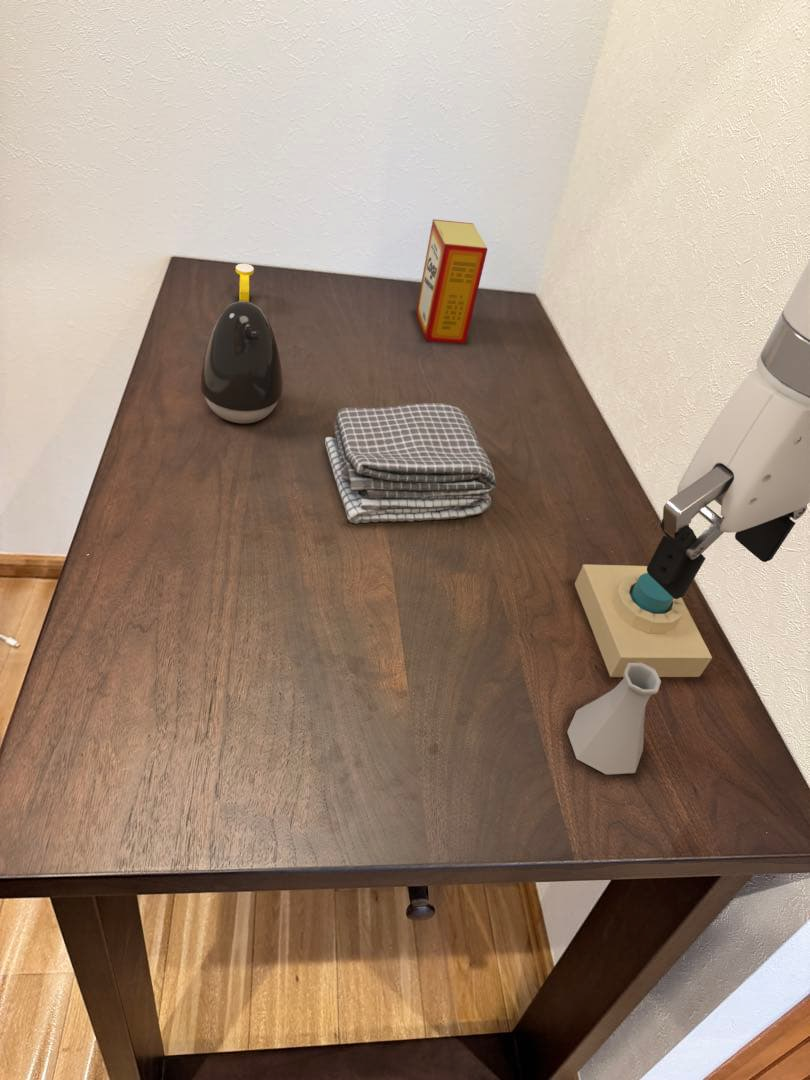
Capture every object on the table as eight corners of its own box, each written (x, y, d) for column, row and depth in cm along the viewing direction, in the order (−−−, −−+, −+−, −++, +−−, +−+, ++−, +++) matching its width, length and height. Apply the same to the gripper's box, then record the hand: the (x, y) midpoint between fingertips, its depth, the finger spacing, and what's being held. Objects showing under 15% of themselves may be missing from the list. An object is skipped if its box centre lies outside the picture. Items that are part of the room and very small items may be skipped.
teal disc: (674, 614, 81) (682, 601, 79) (638, 614, 80) (646, 600, 79) (660, 586, 84) (668, 572, 82) (625, 585, 83) (632, 571, 81)
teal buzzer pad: (699, 677, 81) (720, 646, 78) (610, 677, 79) (627, 645, 76) (655, 586, 90) (672, 555, 87) (574, 584, 88) (588, 552, 85)
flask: (565, 766, 70) (602, 701, 64) (566, 702, 76) (600, 635, 69) (644, 785, 70) (689, 721, 64) (639, 719, 76) (680, 654, 69)
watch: (234, 293, 126) (235, 257, 122) (252, 295, 127) (253, 259, 123) (234, 311, 122) (235, 274, 118) (253, 312, 122) (254, 276, 118)
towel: (491, 520, 94) (507, 469, 89) (341, 525, 89) (349, 471, 84) (457, 445, 105) (469, 395, 100) (321, 445, 100) (327, 393, 95)
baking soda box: (415, 312, 132) (433, 216, 121) (453, 315, 133) (473, 221, 122) (426, 341, 125) (445, 242, 114) (465, 343, 126) (488, 246, 116)
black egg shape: (212, 440, 97) (212, 328, 87) (192, 394, 104) (190, 285, 93) (291, 430, 101) (299, 323, 91) (267, 387, 108) (273, 282, 98)
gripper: (860, 315, 53) (745, 508, 64) (686, 349, 44) (589, 563, 56) (963, 373, 48) (820, 569, 60) (791, 422, 40) (664, 639, 51)
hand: (709, 566), depth 58 cm, fingers open, 9 cm apart
